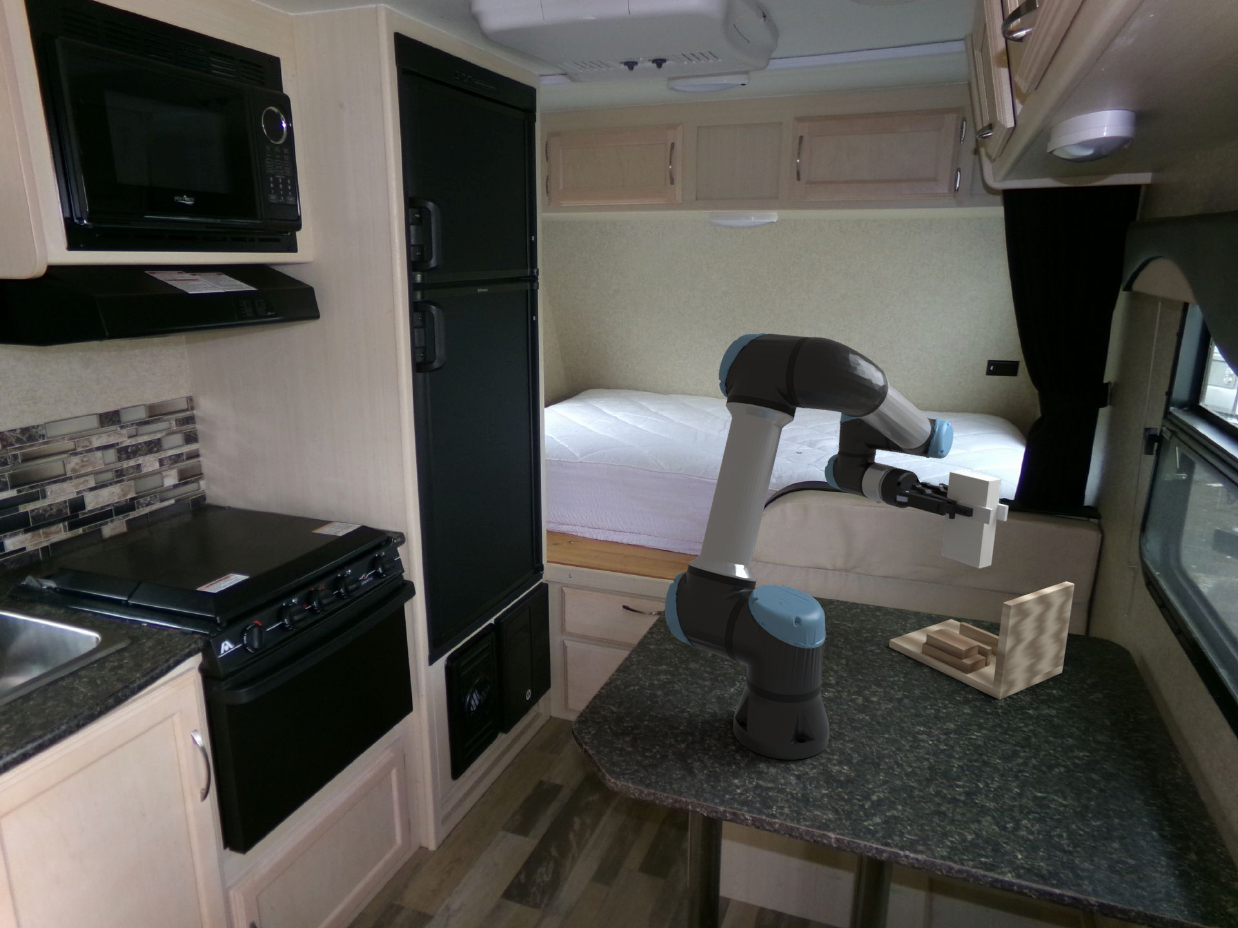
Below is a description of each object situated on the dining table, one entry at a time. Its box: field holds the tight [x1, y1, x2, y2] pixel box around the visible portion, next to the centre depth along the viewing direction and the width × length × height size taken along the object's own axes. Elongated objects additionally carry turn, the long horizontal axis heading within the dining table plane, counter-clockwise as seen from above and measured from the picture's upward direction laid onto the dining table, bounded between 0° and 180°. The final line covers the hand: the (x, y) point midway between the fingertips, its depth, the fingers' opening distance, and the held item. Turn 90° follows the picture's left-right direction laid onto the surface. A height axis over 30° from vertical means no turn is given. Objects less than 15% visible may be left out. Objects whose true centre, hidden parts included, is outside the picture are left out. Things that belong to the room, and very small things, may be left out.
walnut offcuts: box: [922, 629, 986, 674], centre depth 154 cm, size 5×10×4 cm, turn 32°
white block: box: [940, 469, 1002, 569], centre depth 149 cm, size 4×8×16 cm, turn 32°
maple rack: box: [888, 581, 1076, 700], centre depth 156 cm, size 19×24×18 cm
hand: (998, 515), depth 144 cm, fingers closed on white block, 3 cm apart
